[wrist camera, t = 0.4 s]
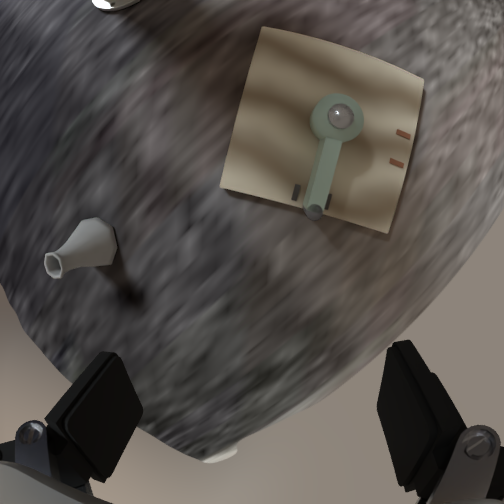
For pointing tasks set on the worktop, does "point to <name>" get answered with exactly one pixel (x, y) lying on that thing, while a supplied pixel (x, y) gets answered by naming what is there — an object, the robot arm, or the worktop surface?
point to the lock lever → (329, 146)
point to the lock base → (302, 138)
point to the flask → (83, 248)
